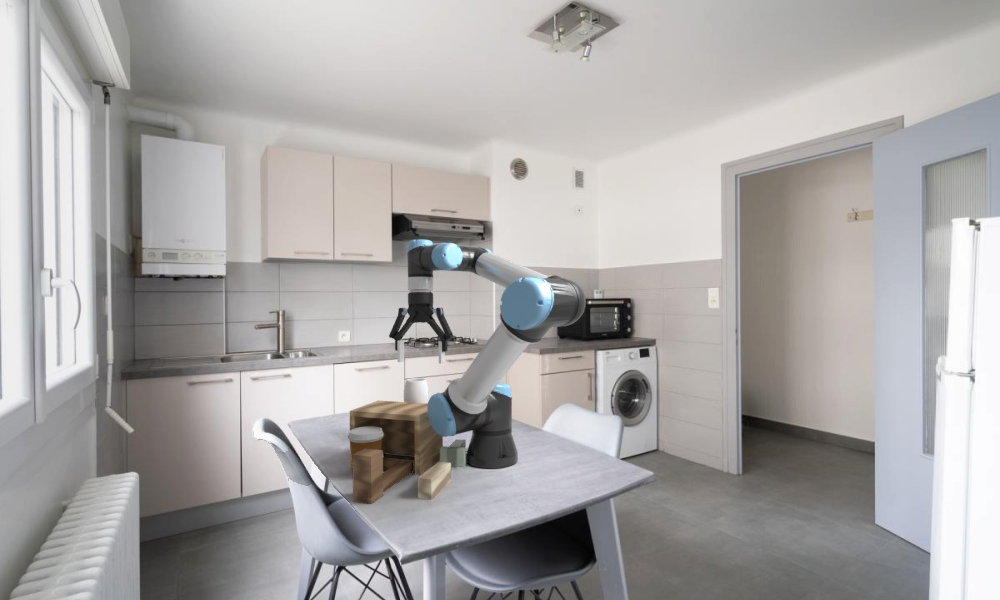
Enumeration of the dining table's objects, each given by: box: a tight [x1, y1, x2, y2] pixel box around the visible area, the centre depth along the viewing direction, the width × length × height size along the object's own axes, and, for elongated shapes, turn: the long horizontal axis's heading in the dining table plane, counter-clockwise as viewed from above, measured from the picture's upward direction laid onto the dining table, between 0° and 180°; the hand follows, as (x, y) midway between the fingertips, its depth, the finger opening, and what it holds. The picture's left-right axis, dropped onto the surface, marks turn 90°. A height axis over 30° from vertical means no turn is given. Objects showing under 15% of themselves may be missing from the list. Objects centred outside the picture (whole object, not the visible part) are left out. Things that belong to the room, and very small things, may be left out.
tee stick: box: [439, 438, 467, 469], centre depth 142 cm, size 7×10×5 cm
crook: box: [352, 449, 415, 505], centre depth 125 cm, size 16×22×11 cm
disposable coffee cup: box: [347, 426, 384, 462], centre depth 131 cm, size 10×10×12 cm
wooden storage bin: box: [349, 400, 444, 476], centre depth 141 cm, size 22×15×16 cm
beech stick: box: [417, 461, 452, 500], centre depth 121 cm, size 4×12×5 cm, turn 163°
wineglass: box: [403, 377, 429, 404], centre depth 161 cm, size 9×9×21 cm
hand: (421, 362), depth 145 cm, fingers open, 13 cm apart
